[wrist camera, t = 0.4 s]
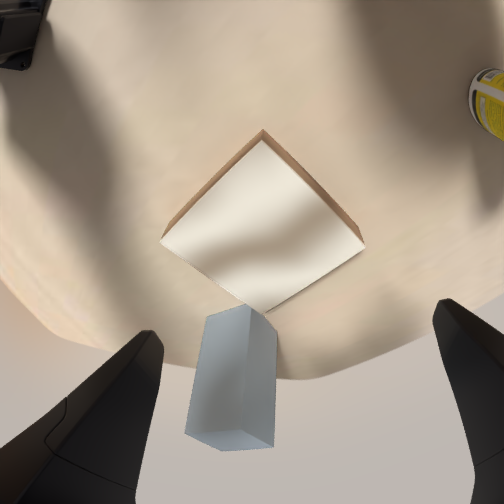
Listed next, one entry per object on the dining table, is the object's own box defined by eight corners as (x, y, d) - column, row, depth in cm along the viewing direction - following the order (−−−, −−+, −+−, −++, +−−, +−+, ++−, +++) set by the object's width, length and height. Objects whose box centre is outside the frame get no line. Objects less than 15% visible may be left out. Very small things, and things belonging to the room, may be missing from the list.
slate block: (206, 316, 30) (184, 433, 20) (251, 301, 28) (240, 429, 19) (234, 344, 32) (221, 451, 23) (277, 332, 31) (273, 447, 21)
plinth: (168, 222, 23) (159, 242, 21) (263, 129, 18) (261, 141, 17) (262, 292, 27) (261, 314, 25) (358, 226, 22) (365, 247, 20)
